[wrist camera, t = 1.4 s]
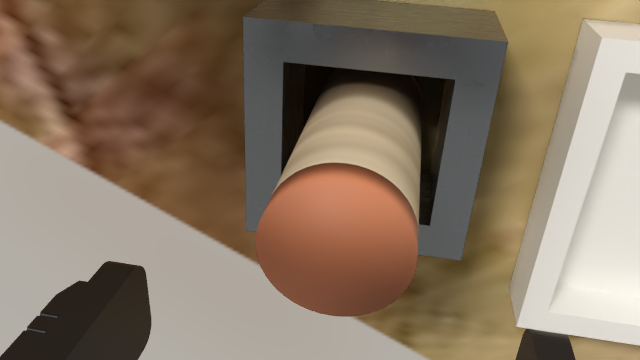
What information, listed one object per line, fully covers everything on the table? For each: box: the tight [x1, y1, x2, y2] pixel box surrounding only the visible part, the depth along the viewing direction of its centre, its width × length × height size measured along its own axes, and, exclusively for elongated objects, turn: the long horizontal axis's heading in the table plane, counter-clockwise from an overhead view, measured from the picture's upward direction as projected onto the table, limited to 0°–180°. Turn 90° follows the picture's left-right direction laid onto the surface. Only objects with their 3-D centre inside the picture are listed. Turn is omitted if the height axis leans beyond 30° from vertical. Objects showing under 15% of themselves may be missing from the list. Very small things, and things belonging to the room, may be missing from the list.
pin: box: [255, 68, 422, 316], centre depth 18 cm, size 4×4×10 cm
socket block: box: [243, 0, 508, 261], centre depth 21 cm, size 8×8×4 cm
